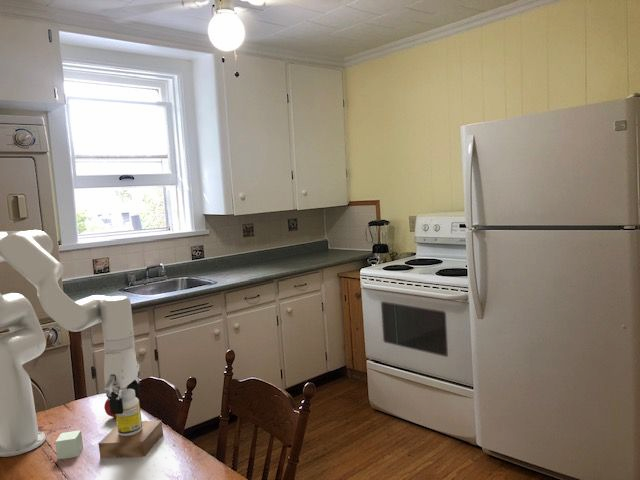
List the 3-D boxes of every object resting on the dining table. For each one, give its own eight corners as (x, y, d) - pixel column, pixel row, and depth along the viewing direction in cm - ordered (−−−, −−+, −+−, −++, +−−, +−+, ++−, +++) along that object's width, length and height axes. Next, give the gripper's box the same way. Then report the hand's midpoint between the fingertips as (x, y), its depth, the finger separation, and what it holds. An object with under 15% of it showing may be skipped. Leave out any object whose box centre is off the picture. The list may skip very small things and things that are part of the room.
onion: (119, 422, 155) (115, 396, 154) (102, 421, 156) (98, 396, 155) (129, 413, 161) (126, 388, 160) (113, 413, 162) (110, 388, 161)
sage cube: (57, 459, 135) (55, 441, 135) (64, 450, 140) (61, 432, 139) (77, 456, 136) (75, 438, 135) (83, 447, 141) (81, 430, 140)
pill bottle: (125, 426, 142) (120, 387, 141) (146, 426, 141) (142, 387, 140) (113, 437, 136) (108, 397, 135) (135, 437, 135) (130, 396, 134)
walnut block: (100, 457, 134) (98, 443, 133) (122, 435, 146) (120, 422, 145) (144, 456, 133) (142, 441, 132) (163, 434, 144) (161, 420, 144)
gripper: (121, 334, 145) (127, 392, 147) (88, 354, 128) (95, 420, 130) (147, 333, 144) (153, 392, 146) (117, 353, 127) (124, 420, 129)
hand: (126, 405), depth 138 cm, fingers open, 9 cm apart
